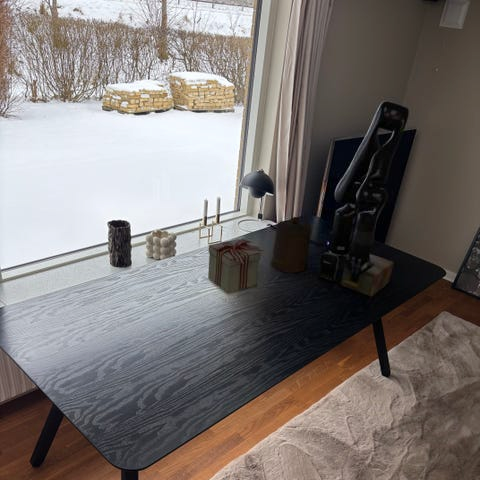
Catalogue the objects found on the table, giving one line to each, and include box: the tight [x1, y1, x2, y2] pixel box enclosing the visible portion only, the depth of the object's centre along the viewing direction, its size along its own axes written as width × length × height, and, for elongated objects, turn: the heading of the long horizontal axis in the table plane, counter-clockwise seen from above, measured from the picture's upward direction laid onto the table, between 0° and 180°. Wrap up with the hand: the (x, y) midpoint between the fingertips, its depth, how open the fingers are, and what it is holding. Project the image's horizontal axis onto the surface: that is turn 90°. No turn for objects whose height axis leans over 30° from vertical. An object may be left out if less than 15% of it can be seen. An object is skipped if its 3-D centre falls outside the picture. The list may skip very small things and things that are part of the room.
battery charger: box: [319, 252, 340, 283], centre depth 200 cm, size 7×4×11 cm, turn 49°
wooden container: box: [271, 216, 312, 273], centre depth 207 cm, size 15×15×22 cm
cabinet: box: [344, 253, 395, 298], centre depth 200 cm, size 17×14×10 cm
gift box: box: [207, 238, 264, 294], centre depth 191 cm, size 17×18×17 cm
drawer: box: [340, 266, 374, 297], centre depth 196 cm, size 22×13×8 cm, turn 141°
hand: (354, 281), depth 190 cm, fingers closed
